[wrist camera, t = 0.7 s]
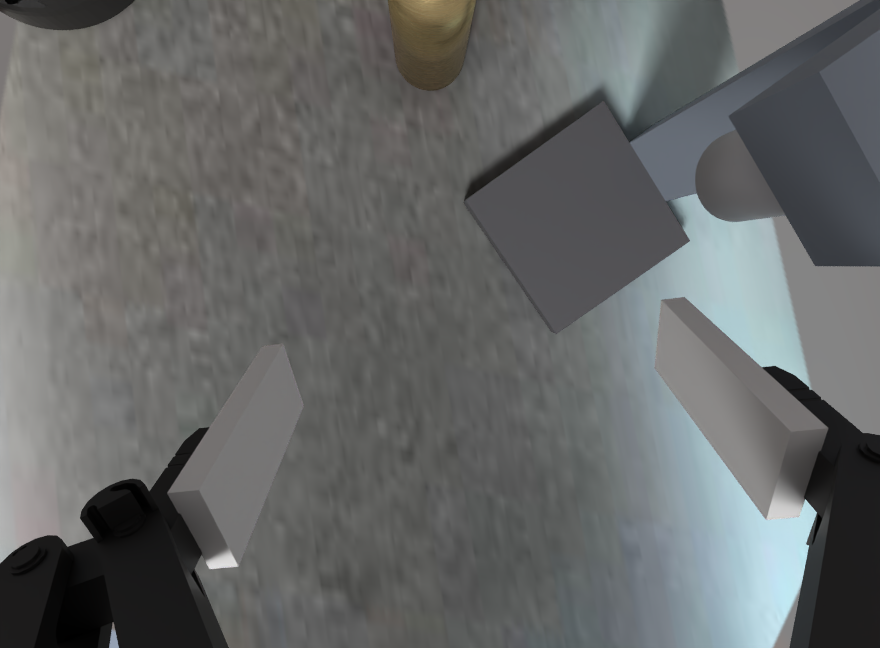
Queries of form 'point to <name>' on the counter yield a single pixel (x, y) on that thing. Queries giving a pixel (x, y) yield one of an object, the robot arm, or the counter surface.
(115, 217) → the counter surface
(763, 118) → the press
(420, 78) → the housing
